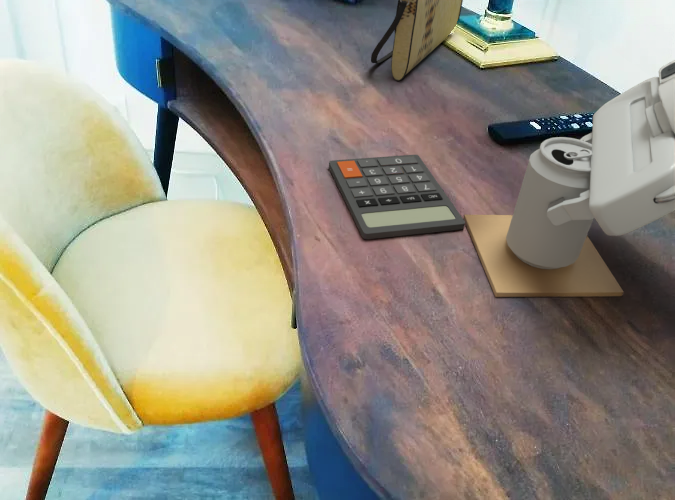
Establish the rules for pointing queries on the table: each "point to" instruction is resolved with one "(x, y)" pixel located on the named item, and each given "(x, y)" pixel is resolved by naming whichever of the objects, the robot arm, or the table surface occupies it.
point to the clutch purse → (417, 32)
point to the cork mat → (530, 281)
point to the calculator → (394, 196)
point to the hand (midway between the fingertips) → (553, 190)
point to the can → (543, 188)
